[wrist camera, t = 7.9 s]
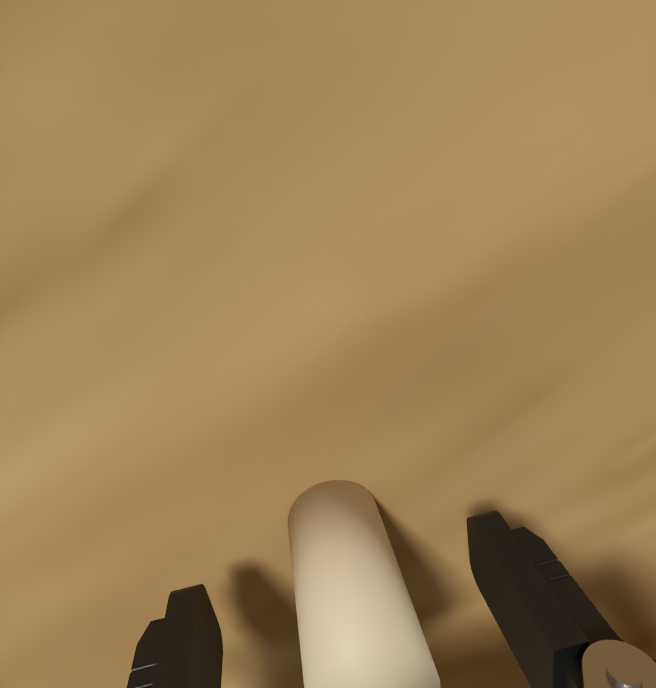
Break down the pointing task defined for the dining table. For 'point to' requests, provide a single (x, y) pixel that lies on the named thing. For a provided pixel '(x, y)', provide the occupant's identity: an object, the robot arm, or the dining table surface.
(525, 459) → the dining table surface
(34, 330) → the dining table surface
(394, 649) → the tethered block
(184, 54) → the dining table surface
